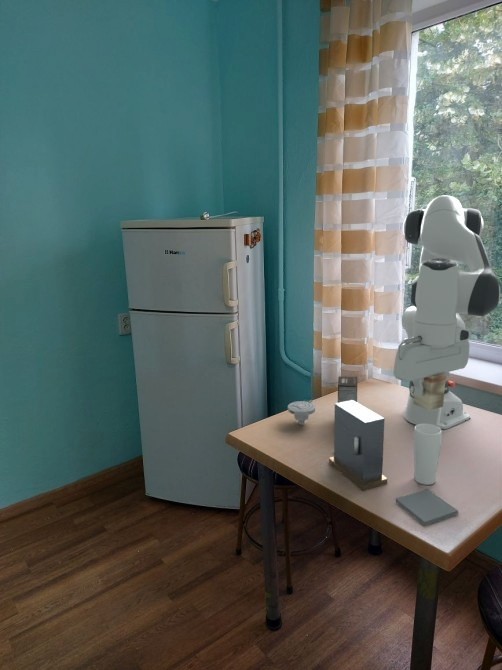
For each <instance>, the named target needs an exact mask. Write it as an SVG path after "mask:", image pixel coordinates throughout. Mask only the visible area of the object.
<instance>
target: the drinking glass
mask: <svg viewBox="0 0 502 670" xmlns="http://www.w3.org/2000/svg"><path fill="white" fill-rule="evenodd" d="M442 430H443V429H440V428H439V427H438V426H435V425H432V424H418V425H416V424H415V426H414V430H413V463H414V466H413V467H414V473H413V474H414V475H413V477H414V481H416V482H417V483H418V484H420V485H423V486H430V485H433V484H434V483H435V482H436V479H437V478H436V477H437V470H438V464H439V458H440V454H441V447H442V435H443V434H442V433H443V431H442Z"/></svg>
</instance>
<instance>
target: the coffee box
mask: <svg viewBox="0 0 502 670" xmlns="http://www.w3.org/2000/svg"><path fill="white" fill-rule="evenodd" d="M337 380H338V381H337V382H338V383H337V403H340V402H345V401H350V400H354V401H356V402H357V403H358V376H338V379H337Z"/></svg>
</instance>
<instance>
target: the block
mask: <svg viewBox="0 0 502 670" xmlns="http://www.w3.org/2000/svg"><path fill="white" fill-rule="evenodd" d="M445 380H446V373H441V374H437V375H432V376H429V377H425V378H424V381H423V382H422V385H423V387H424V388H426V394H425V395H423V396H418V395H416V394H415V391H414V404H415V405H417V406H419V407H422V408H424V409H426V410H429V411H430V410H433V409H437V408H440V407H443V402H444V390H445ZM446 381H447V380H446Z"/></svg>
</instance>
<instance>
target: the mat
mask: <svg viewBox="0 0 502 670" xmlns="http://www.w3.org/2000/svg"><path fill="white" fill-rule="evenodd" d="M395 503H396V504H397V505H398V506H400V507H401V508H402V509H404V510H405V511H406V512H407V513H408V514H410V515H411V516H412V517H413V518H414V519H416V520H417V521H418V522H419V523H421V524H422V525H423V526H428V525H430V524H433V523H437V522H439V521H442V520H445V519H447V518H448V519H449V518H451V517H453V516H454V517H455V516H457V515H459V510H458V509H457V508H456V507H454V506H452V505H451V504H450V503H448V502H447V501H446V500H444V499H443V498H441V497H439V496H438V495H437V494H436V493H434V492H433V491H431V490H429V489H428V488H426V489H422V490H419V491H416V492H412V493H409V494H406V495H404V496H400V497H397V498H395Z"/></svg>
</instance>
